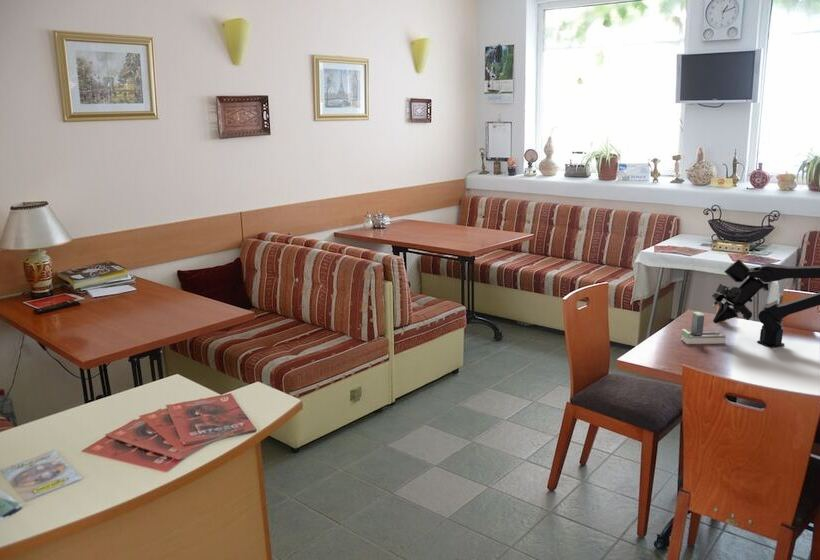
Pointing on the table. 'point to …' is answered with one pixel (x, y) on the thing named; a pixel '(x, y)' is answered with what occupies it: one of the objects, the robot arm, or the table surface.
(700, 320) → the fader tab
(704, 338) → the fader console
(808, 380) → the table surface
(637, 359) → the table surface
